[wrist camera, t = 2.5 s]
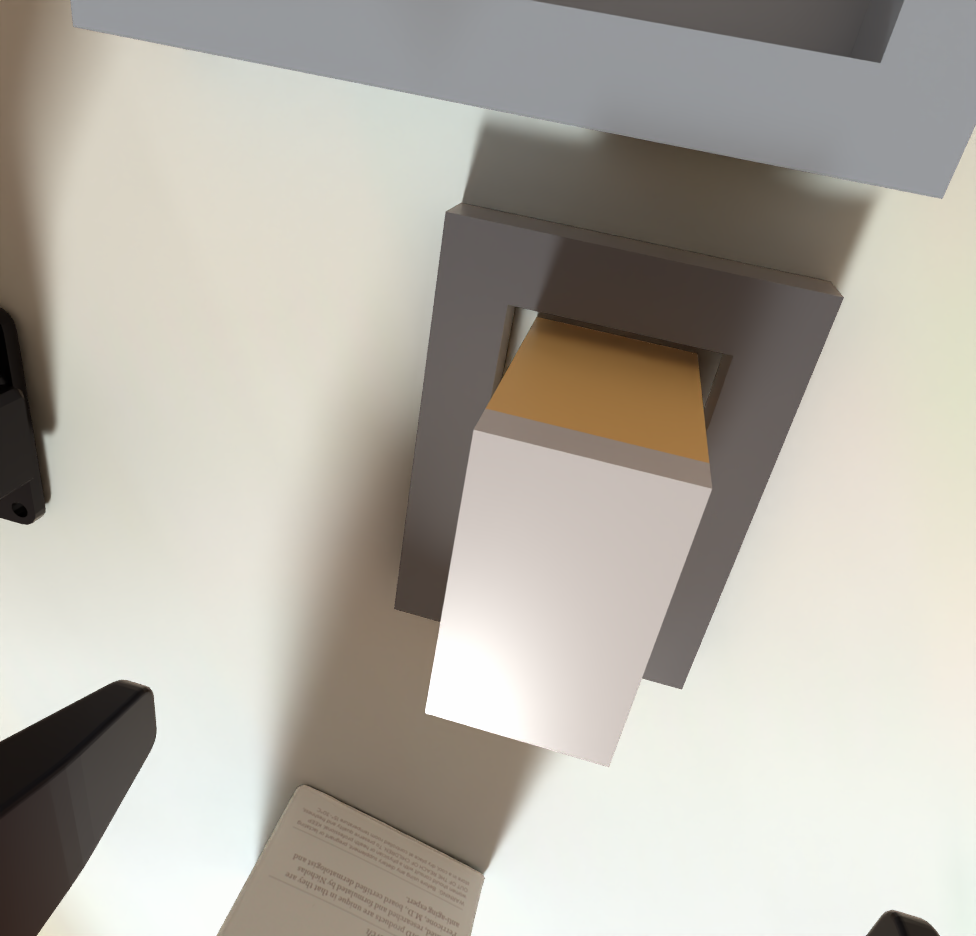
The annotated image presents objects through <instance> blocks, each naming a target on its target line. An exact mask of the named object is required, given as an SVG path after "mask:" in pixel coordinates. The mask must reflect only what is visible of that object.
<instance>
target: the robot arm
mask: <svg viewBox="0 0 976 936" xmlns="http://www.w3.org/2000/svg"><path fill="white" fill-rule="evenodd" d="M44 513H45V501H44V495H43V489H42V483H41V477H40V471H39V465H38V459H37V453H36V446H35V440H34V434H33V428H32V422H31V416H30V410H29V404H28V398H27V392H26V385H25V379H24V373H23V367H22V361H21V355H20V349H19V343H18V337H17V331H16V327H15V324H14V321H13V319H12V318H11V316H10V315H9V314H8V313H7V312H6V311H5V310H4V309H3V308H0V518H3V519H6V520H10V521H13V522H17V523H20V524H26V525H28V524H31V523H33V522H35V521H36V520H38V519H39V518H40V517H42V516H43V515H44ZM156 731H157V728H156V717H155V705H154V695H153V692H152V690H151V689H150V688H149V687H147V686H144V685H141V684H138V683H134V682H131V681H128V680H118V681H115V682H112V683H110V684H108V685H107V686H105V687H103V688H101V689H99V690H97V691H95V692H93V693H91V694H90V695H88V696H86V697H84V698H82V699H80V700H78V701H76V702H74V703H72V704H71V705H69V706H67V707H65V708H63V709H61V710H59V711H57V712H55V713H54V714H52V715H50V716H48V717H46V718H44V719H42V720H40V721H38V722H37V723H35V724H33V725H31V726H29V727H27V728H25V729H23V730H21V731H20V732H18V733H16V734H14V735H12V736H10V737H8V738H6V739H4V740H2V741H1V742H0V936H37V934H38V933H39V932H40V930H41V929H42V927H43V926H44V925H45V923H46V922H47V920H48V919H49V917H50V916H51V915H52V913H53V912H54V910H55V909H56V907H57V906H58V905H59V903H60V902H61V900H62V899H63V897H64V896H65V895H66V893H67V892H68V890H69V889H70V887H71V886H72V884H73V883H74V881H75V880H76V878H77V877H78V875H79V874H80V872H81V871H82V869H83V868H84V866H85V865H86V863H87V861H88V860H89V858H90V856H91V855H92V853H93V851H94V850H95V848H96V846H97V845H98V843H99V841H100V839H101V838H102V836H103V834H104V832H105V830H106V829H107V827H108V825H109V823H110V822H111V820H112V818H113V816H114V815H115V813H116V811H117V809H118V808H119V806H120V804H121V802H122V800H123V799H124V797H125V795H126V793H127V792H128V790H129V788H130V786H131V785H132V783H133V781H134V779H135V778H136V776H137V774H138V772H139V771H140V769H141V767H142V765H143V763H144V762H145V760H146V758H147V756H148V755H149V753H150V751H151V749H152V747H153V744H154V742H155V738H156ZM866 936H940V935H939V934H938V932H937V931H936V930H935V929H934V928H933V927H932V926H931V925H930V924H929V923H928V922H927V921H925V920H923V919H921V918H919V917H915V916H912V915H909V914H905V913H902V912H899V911H895V910H890V911H886V912H885V913H884V914H883V915H882V916H881V917H880V918H879V920H878V921H877V922H876V924H875V925H874V926H873V927H872V929H871V930H870V931H869V933H868V934H867V935H866Z"/></svg>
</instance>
